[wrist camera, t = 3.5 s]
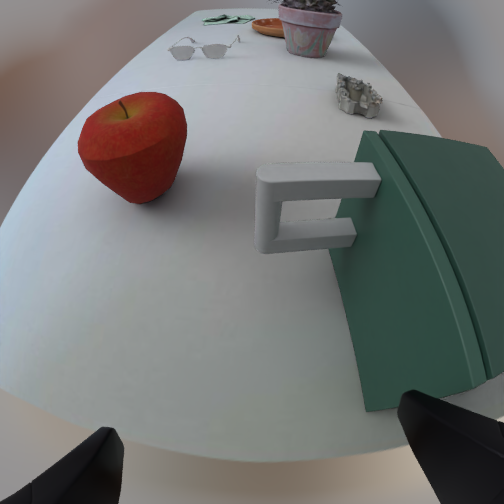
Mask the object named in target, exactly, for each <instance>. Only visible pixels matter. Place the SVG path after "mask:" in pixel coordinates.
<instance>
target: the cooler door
mask: <svg viewBox="0 0 504 504" xmlns="http://www.w3.org/2000/svg"><path fill="white" fill-rule="evenodd" d="M341 198H342V200H341V203H340V206H339V209H338V212H337V214H336V217H335V218H333V219H317V220H302V221H287V222H280V216H281V208H282V201H296V200H316V199H341ZM254 245H255V248H256V250H257V251H259V252H260V253H263V254H272V253H283V252H295V251H306V250H317V249H329V252H330V255H331V259H332V262H333V266H334V270H335V273H336V277H337V281H338V284H339V288H340V292H341V296H342V300H343V304H344V308H345V312H346V316H347V320H348V324H349V329H350V333H351V338H352V342H353V347H354V351H355V356H356V361H357V366H358V370H359V376H360V381H361V386H362V391H363V397H364V403H365V409H366V412H369V411H377V410H383V409H390V408H396V407H398V406H399V402H400V399H401V395H402V394H403V393H404V392H406V391H409V390H412V389H415V390H418V391H420V392H423V393H425V394H428V395H430V396H433V397H435V398H442V397H446V396H450V395H454V394H457V393H461V392H464V391H468V390H471V389H474V388H476V387H478V386H479V385H481V384H483V383H485V382H486V381H487V378H486V373H485V369H484V364H483V360H482V356H481V352H480V348H479V345H478V341H477V337H476V334H475V331H474V327H473V324H472V321H471V318H470V315H469V312H468V309H467V306H466V303H465V300H464V297H463V294H462V292H461V289H460V286H459V284H458V281H457V279H456V276H455V274H454V271H453V269H452V266H451V264H450V262H449V259H448V257H447V255H446V253H445V250H444V248H443V246H442V244H441V242H440V239H439V237H438V235H437V233H436V231H435V229H434V227H433V225H432V223H431V221H430V219H429V217H428V215H427V213H426V212H425V210H424V208H423V206H422V204H421V202H420V200H419V199H418V197H417V195H416V193H415V192H414V190H413V188H412V186H411V185H410V183H409V181H408V180H407V178H406V176H405V175H404V173H403V171H402V170H401V168H400V167H399V165H398V163H397V162H396V160H395V159H394V157H393V156H392V154H391V153H390V151H389V150H388V148H387V147H386V145H385V144H384V142H383V141H382V139H381V138H380V137H379V135H378V134H377V132H375V131H363V134H362V138H361V141H360V144H359V148H358V151H357V154H356V157H355V161H354V162H298V163H271V164H264V165H262V166H260V167H259V168H258V169H257V171H256V202H255V241H254Z"/></svg>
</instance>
